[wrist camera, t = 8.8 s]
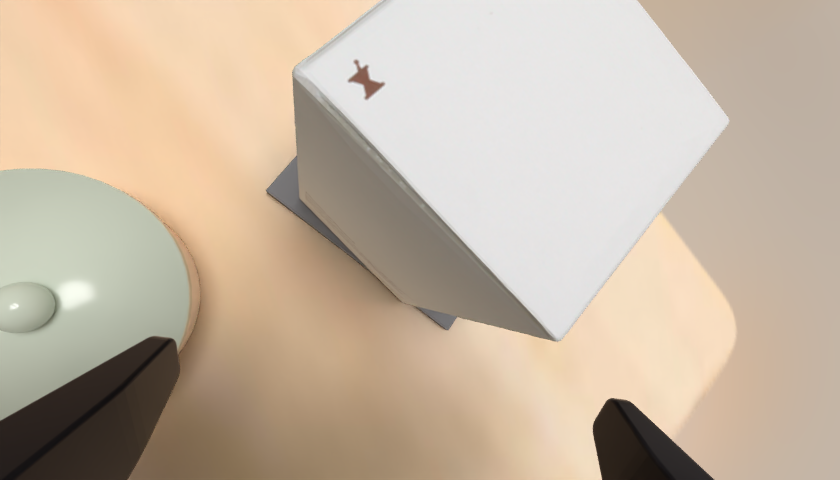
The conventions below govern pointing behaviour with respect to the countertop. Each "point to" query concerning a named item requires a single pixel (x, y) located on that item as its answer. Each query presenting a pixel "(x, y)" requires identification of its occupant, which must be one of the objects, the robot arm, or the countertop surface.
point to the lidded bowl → (82, 280)
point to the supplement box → (498, 149)
